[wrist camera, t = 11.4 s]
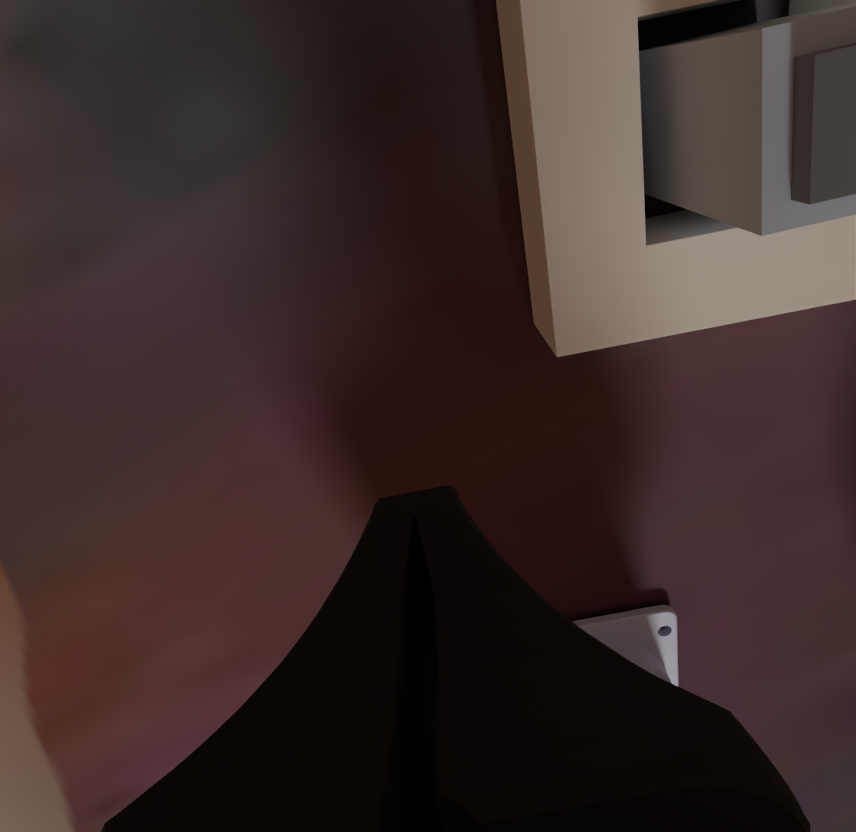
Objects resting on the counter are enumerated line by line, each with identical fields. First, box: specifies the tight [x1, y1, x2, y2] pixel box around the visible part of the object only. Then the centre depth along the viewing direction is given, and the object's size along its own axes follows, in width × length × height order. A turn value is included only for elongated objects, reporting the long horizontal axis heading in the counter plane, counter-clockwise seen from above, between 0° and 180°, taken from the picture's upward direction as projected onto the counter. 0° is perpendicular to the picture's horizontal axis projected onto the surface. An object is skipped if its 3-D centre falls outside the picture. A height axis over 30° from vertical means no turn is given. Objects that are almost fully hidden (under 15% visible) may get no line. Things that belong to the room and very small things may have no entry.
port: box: [496, 0, 856, 357], centre depth 17 cm, size 10×10×3 cm
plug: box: [639, 2, 856, 236], centre depth 15 cm, size 4×4×8 cm
